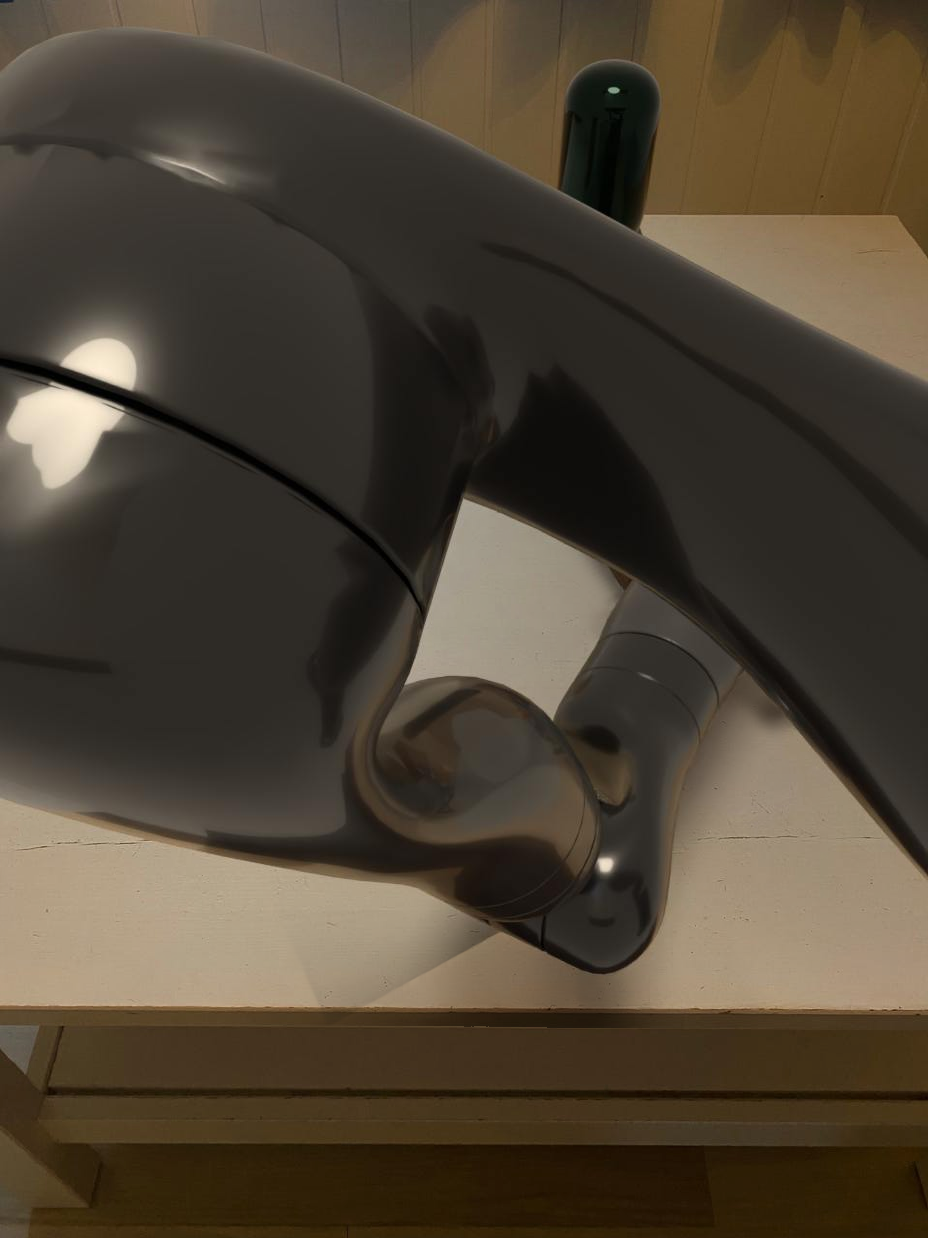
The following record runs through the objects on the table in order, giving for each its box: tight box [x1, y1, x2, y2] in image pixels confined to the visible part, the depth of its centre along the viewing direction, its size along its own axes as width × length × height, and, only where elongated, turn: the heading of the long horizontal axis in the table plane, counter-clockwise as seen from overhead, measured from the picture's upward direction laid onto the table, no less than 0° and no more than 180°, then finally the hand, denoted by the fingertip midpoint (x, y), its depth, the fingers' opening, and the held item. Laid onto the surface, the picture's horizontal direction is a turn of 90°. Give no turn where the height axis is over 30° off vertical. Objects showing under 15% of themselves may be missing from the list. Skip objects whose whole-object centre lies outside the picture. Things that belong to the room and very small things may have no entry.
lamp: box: [556, 58, 663, 235], centre depth 88 cm, size 10×10×22 cm
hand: (778, 457), depth 62 cm, fingers closed on supplement box, 4 cm apart
